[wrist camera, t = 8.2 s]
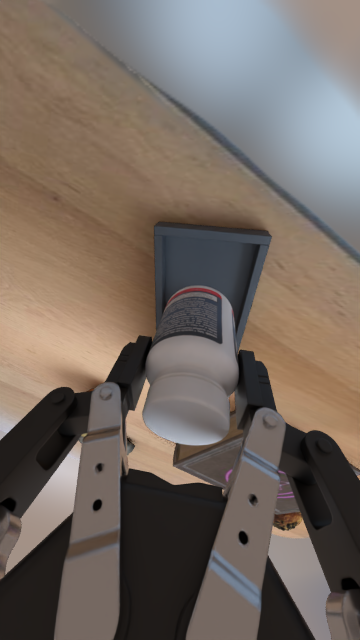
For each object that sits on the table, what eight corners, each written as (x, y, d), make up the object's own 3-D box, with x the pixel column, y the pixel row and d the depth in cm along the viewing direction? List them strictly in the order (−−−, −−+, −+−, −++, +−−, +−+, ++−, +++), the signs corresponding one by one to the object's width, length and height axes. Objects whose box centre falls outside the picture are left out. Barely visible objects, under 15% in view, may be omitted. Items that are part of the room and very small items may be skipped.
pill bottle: (152, 307, 17) (103, 409, 10) (205, 269, 14) (190, 368, 7) (194, 348, 19) (178, 458, 12) (246, 321, 16) (267, 440, 9)
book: (360, 470, 42) (375, 502, 38) (271, 489, 54) (275, 514, 50) (249, 402, 35) (253, 432, 31) (175, 441, 47) (171, 466, 43)
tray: (158, 221, 21) (153, 225, 19) (268, 230, 20) (272, 236, 18) (160, 371, 34) (157, 381, 33) (225, 381, 33) (226, 392, 32)
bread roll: (265, 502, 59) (271, 526, 55) (305, 503, 59) (313, 528, 55) (256, 511, 66) (261, 533, 62) (291, 511, 66) (298, 534, 62)
